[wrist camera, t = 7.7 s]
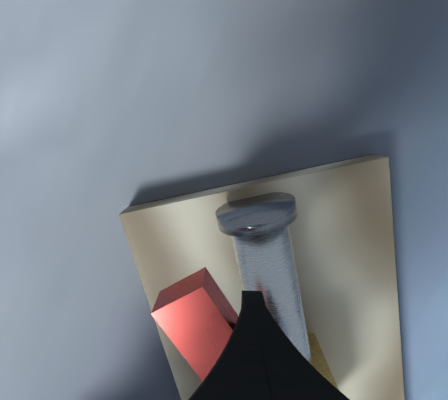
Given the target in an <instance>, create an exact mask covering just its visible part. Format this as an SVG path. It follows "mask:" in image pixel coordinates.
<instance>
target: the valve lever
mask: <svg viewBox="0 0 448 400" xmlns="http://www.w3.org/2000/svg"><path fill="white" fill-rule="evenodd" d="M151 315H152V316H153V317H154V319H155V320H156V321H157V323H158V324H159V325H160V326H161V328H162V329H163V330H164V332H165V333H166V334H167V336H168V337H169V338H170V340H171V341H172V342H173V343H174V345H175V346H176V347H177V349H178V350H179V351H180V353H181V354H182V355H183V357H184V358H185V359H186V360H187V362H188V363H189V364H190V366H191V367H192V368H193V370H194V371H195V372H196V373H197V375H198V376H199V377H200V379H201V380H202V381H204V379H205V378H206V376H207V375H208V374H209V372H210V371H211V369H212V368H213V366H214V365H215V363H216V361H217V360H218V358H219V357H220V355H221V353H222V351H223V350H224V348H225V346H226V344H227V342H228V340H229V338H230V336H231V334H232V332H233V329H234V327H235V325H236V322H237V319H238V317H239V316H238V315H237V313H236V312H235V310H234V309H233V307H232V306H231V304H230V303H229V301H228V300H227V298H226V297H225V295H224V294H223V292H222V291H221V289H220V288H219V286H218V285H217V283H216V282H215V280H214V279H213V277H212V276H211V274H210V273H209V271H208V270H207V268H206V267H204V268H202V269H200V270H199V271H197V272H195V273H193V274H191V275H189V276H187V277H186V278H184V279H182V280H180V281H178V282H176V283H174V284H172V285H171V286H169V287H167V288H165V289H163V290H161V291H160V292H159V295H158V297H157V300H156V302H155V304H154V307H153V309H152V312H151Z"/></svg>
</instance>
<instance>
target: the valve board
mask: <svg viewBox="0 0 448 400" xmlns="http://www.w3.org/2000/svg"><path fill="white" fill-rule="evenodd" d="M273 192H284V193H289V194H291V195H293V196H294V197H295V201H296V207H297V213H298V216H297V218H296V220H295V221H294V222H292V223H291V224H289V228H290V234H291V240H292V246H293V252H294V258H295V264H296V269H297V275H298V281H299V287H300V293H301V299H302V305H303V311H304V317H305V323H306V328H307V334H310V333H315V335H316V338H317V340H318V342H319V345H320V347H321V349H322V352H323V354H324V356H325V359H326V361H327V363H328V366H329V368H330V370H331V373H332V375H333V378H334V380H335V382H336V385H337V387H338V389H339V391H340V392H341V393H343V394H344V395H345V396H346V397H347V398H349V399H350V400H405V399H404V383H403V368H402V353H401V337H400V322H399V306H398V291H397V276H396V260H395V245H394V230H393V214H392V199H391V184H390V168H389V157H387V156H381V155H376V154H372V155H368V156H363V157H358V158H354V159H349V160H344V161H340V162H335V163H330V164H326V165H321V166H316V167H312V168H307V169H302V170H298V171H293V172H288V173H284V174H279V175H274V176H270V177H265V178H260V179H256V180H251V181H246V182H242V183H237V184H232V185H228V186H223V187H218V188H214V189H209V190H204V191H200V192H195V193H190V194H186V195H181V196H176V197H172V198H167V199H162V200H158V201H153V202H149V203H144V204H139V205H135V206H130V207H127V208H126V209H125V210H124V211H122V212H121V213H120V214H119V216H120V219H121V222H122V225H123V228H124V231H125V234H126V237H127V240H128V243H129V246H130V249H131V252H132V255H133V258H134V261H135V264H136V267H137V270H138V273H139V276H140V279H141V282H142V285H143V288H144V291H145V294H146V297H147V300H148V303H149V305H150V308H151V311H152V309H153V307H154V304H155V302H156V300H157V297H158V295H159V292H160V291H161V290H163V289H165V288H167V287H169V286H171V285H172V284H174V283H176V282H178V281H180V280H182V279H184V278H186V277H187V276H189V275H191V274H193V273H195V272H197V271H199V270H200V269H202V268H204V267H206V268H207V270H208V271H209V273H210V274H211V276H212V277H213V279H214V280H215V282H216V283H217V285H218V286H219V288H220V289H221V291H222V292H223V294H224V295H225V297H226V298H227V300H228V301H229V303H230V304H231V306H232V307H233V309H234V310H235V312H236V313H237V315H238V316H239V314H240V311H241V297H242V290H243V287H242V282H241V278H240V274H239V269H238V265H237V261H236V256H235V252H234V248H233V243H232V239H231V236H230V235H226V234H224V233H222V232H221V231H220V230H219V227H218V223H217V219H216V214H215V212H216V210H217V209H218V208H219V207H220V206H222V205H223V204H225V203H227V202H230V201H235V200H240V199H244V198H249V197H254V196H259V195H263V194H268V193H273ZM154 320H155V319H154ZM155 323H156V326H157V329H158V332H159V335H160V338H161V341H162V344H163V347H164V350H165V353H166V356H167V359H168V362H169V365H170V368H171V371H172V374H173V377H174V380H175V383H176V386H177V389H178V392H179V395H180V398H181V400H188V399H189V398H190V397H191V396H192V394H193V393H194V392H195V391H196V389H197V388H198V387H199V386H200V384H201V383H202V382H203V381H202V380H201V379H200V377H199V376H198V375H197V373H196V372H195V371H194V370H193V368H192V367H191V366H190V364H189V363H188V362H187V360H186V359H185V358H184V357H183V355H182V354H181V353H180V351H179V350H178V349H177V347H176V346H175V345H174V343H173V342H172V341H171V340H170V338H169V337H168V336H167V334H166V333H165V332H164V330H163V329H162V328H161V326H160V325H159V324H158V323H157V321H156V320H155Z"/></svg>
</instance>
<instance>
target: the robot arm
mask: <svg viewBox="0 0 448 400" xmlns="http://www.w3.org/2000/svg"><path fill="white" fill-rule="evenodd" d="M188 400H350V399H349V398H347V397H346V396H345V395H344V394H343V393H341V392H340V391H339V390H338V389H337V388H336V387H335V386H333V385H332V384H331V383H330V382H329V381H328V380H327V379H326V378H325V377H323V376H322V375H321V374H320V373H319V372H318V371H317V370H316V369H315V368H314V367H313V366H312V365H311V364H310V363H309V362H308V360H307V359H306V358H305V357H304V356H303V355H302V354H301V353H300V352H299V351H298V349H297V348H296V347H295V346H294V345H293V343H292V342H291V341H290V340H289V338H288V337H287V336H286V334H285V333H284V332H283V330H282V329H281V328H280V326H279V325H278V323H277V322H276V320H275V319H274V318H273V316H272V315H271V313H270V311H269V310H268V308H267V306H266V305H265V300H264V296H263V294H262V291H245V290H242V297H241V311H240V314H239V317H238V319H237V322H236V325H235V327H234V329H233V332H232V334H231V336H230V338H229V340H228V342H227V344H226V346H225V348H224V350H223V351H222V353H221V355H220V357H219V358H218V360H217V361H216V363H215V365H214V366H213V368H212V369H211V371H210V372H209V374H208V375H207V376H206V378H205V379H204V381H203V382H202V383H201V384H200V386H199V387H198V388H197V389H196V391H195V392H194V393H193V394H192V396H191V397H190V398H189V399H188Z"/></svg>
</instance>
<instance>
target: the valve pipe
mask: <svg viewBox="0 0 448 400" xmlns="http://www.w3.org/2000/svg"><path fill="white" fill-rule="evenodd" d="M215 214H216V219H217V223H218V227H219V230H220V231H221V232H222V233H224V234H226V235H230V236H231V239H232V243H233V248H234V252H235V256H236V261H237V265H238V269H239V274H240V278H241V282H242V287H243V290H245V291H262V294H263V296H264V300H265V305H266V306H267V308H268V310H269V311H270V313H271V315H272V316H273V318H274V319H275V320H276V322H277V323H278V325H279V326H280V328H281V329H282V330H283V332H284V333H285V334H286V336H287V337H288V338H289V340H290V341H291V342H292V343H293V345H294V346H295V347H296V348H297V349H298V351H299V352H300V353H301V354H302V355H303V356H304V357H305V358H306V359H307V360H308V362H309V363H310V364H311V365H312V366H313V367H314V368H315V369H316V370H317V371H318V372H319V373H320V374H321V375H322V376H323V377H325V378H326V379H327V380H328V381H329V382H330V383H331V384H332V385H333V386H335V387H336V388H337V389H338V387H337V385H336V382H335V380H334V378H333V375H332V373H331V370H330V368H329V366H328V363H327V361H326V359H325V356H324V354H323V352H322V349H321V347H320V345H319V342H318V340H317V338H316V335H315V333H310V334H307V328H306V323H305V317H304V311H303V305H302V299H301V293H300V287H299V281H298V275H297V269H296V264H295V258H294V252H293V246H292V240H291V234H290V228H289V224H291V223H292V222H294V221H295V220H296V218H297V216H298V213H297V207H296V201H295V197H294V196H293V195H291V194H289V193H284V192H273V193H268V194H263V195H259V196H254V197H249V198H244V199H240V200H235V201H230V202H227V203H225V204H223V205H222V206H220V207H219V208H218V209H217V210H216V212H215ZM338 390H339V389H338Z"/></svg>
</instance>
